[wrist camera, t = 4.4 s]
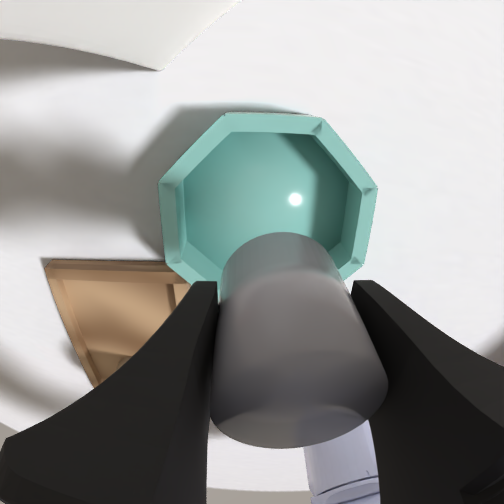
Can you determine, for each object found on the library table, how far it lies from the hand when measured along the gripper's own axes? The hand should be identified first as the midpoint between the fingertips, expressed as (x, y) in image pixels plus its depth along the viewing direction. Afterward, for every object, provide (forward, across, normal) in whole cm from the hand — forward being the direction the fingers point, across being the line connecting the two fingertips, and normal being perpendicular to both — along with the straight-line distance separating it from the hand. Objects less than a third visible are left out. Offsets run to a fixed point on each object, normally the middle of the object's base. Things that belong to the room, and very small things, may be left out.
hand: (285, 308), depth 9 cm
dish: (+9, 0, 0) cm, 9 cm away
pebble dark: (+1, 0, 0) cm, 1 cm away
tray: (+9, +10, +10) cm, 17 cm away
